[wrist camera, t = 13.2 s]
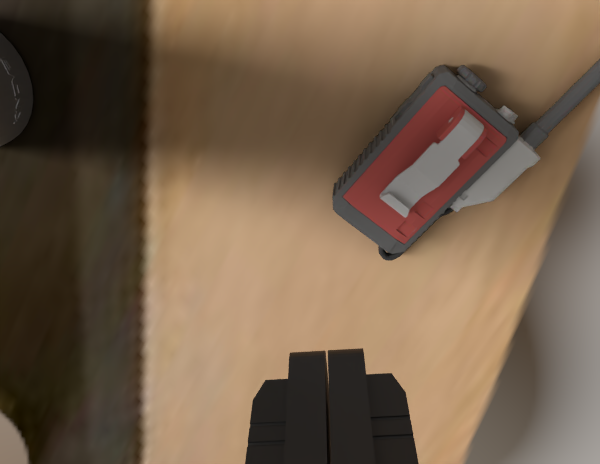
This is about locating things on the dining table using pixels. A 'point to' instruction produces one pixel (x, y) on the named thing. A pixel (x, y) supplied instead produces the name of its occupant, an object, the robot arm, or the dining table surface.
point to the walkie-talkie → (442, 157)
